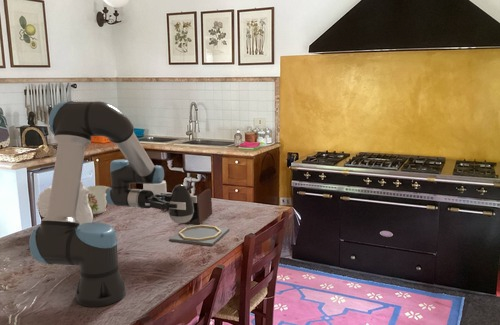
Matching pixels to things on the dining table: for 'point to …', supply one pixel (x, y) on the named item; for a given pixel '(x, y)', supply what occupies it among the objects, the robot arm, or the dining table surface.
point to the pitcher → (97, 198)
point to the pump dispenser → (183, 195)
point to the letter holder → (201, 208)
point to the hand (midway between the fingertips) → (191, 202)
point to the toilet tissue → (156, 187)
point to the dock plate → (199, 234)
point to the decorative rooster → (83, 206)
